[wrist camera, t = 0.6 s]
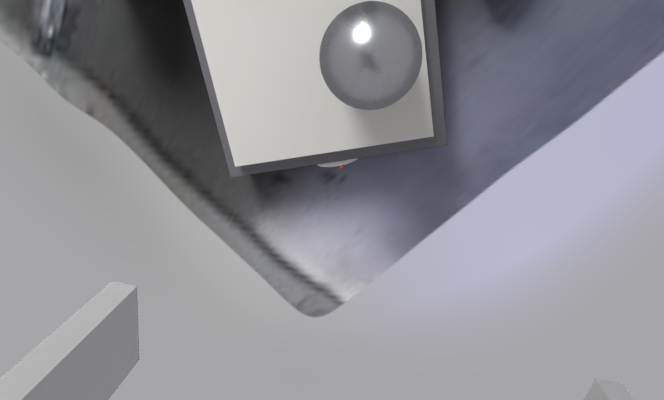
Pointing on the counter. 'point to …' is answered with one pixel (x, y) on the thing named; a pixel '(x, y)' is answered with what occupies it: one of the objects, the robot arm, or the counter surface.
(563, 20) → the counter surface
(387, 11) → the cylinder
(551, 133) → the counter surface
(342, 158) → the scale
